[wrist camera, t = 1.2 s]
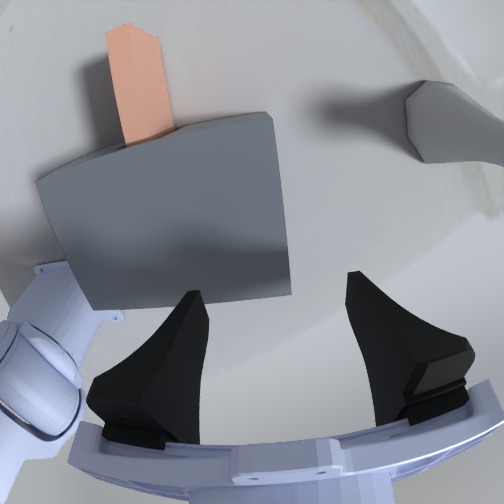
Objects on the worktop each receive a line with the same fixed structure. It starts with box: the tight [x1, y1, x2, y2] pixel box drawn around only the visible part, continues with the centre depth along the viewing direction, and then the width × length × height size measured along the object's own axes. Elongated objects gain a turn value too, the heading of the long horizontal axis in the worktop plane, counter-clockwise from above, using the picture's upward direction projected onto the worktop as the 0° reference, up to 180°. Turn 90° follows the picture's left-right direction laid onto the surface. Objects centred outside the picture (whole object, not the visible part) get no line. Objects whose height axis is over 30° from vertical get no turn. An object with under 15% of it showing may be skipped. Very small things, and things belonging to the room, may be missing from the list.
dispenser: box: [36, 112, 292, 311], centre depth 18 cm, size 14×10×7 cm
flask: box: [405, 81, 504, 167], centre depth 13 cm, size 7×7×10 cm
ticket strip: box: [105, 23, 175, 147], centre depth 16 cm, size 1×16×5 cm, turn 8°
